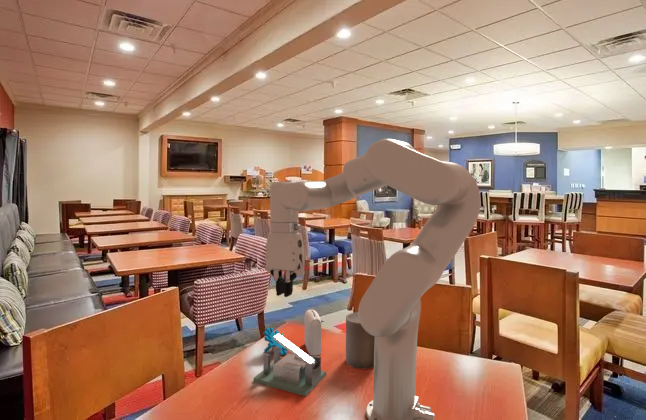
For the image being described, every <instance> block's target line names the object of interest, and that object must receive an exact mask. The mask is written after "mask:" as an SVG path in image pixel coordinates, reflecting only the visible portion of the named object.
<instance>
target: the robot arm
mask: <svg viewBox="0 0 646 420" xmlns="http://www.w3.org/2000/svg"><path fill="white" fill-rule="evenodd" d="M385 187H390V188H392V189H394V190H396V191H398V192H400V193H402V194H404V195H406V196H408V197H410V198H412V199H414V200H416V201H419V202H420V203H423V204H426V205H429V206H436V208H435V210H434V212H433V213H432V214H431V215H430V216H429V218H428V219H427V220H426V222H425V223H424V224H423V227H422V228H421V230H420V231H419V233H418V234H417V236H416V237H415V239H414V240H413V241H412V242H411V244H409V245H408V246H407V247H404V248H402V249H400V250H398V251H396V252H394V253H392V254H391V256H389V257H388V258H387V260H386V261H385V262H384V263H383V264H382V266H381V268H380V269H379V271H378V272H377V274H376V275H375V277H374V278H373V280H372V282H371V283H370V285H368V288H367V289H366V291H365V293H364V294H363V296H362V297H361V299H360V301H359V305H358V311H357V312H358V317H359V321H360V324H361V326H362V327H363V329H364V330H365V331H366V332H367V333H369V334H370V335H372V336H375V341H374V367H373V388H372V389H373V391H372V395H373V396H372V400H371V401H369V402H368V404H367V405H366V409H365V413H366V418H367V420H435V413H434V412H432V410H431V409H432V407H431V406H428V405H422V404H421V403H419V396H417V395H416V382H417V381H416V380H417V353H418V352H417V350H418V332H419V324H420V320H421V312H422V310H421V309H422V303H421V298H422V296H423V295H424V294H425V293H426V292H427V291H429V290H430V289H431V288H432V287H433V286H435V285H436V284H437V282H439V280H440V279H441V277H442V275H443V273H444V272H445V270H447V268H448V266H449V265H450V263H451V261H452V260H453V259H454V257H455V256H456V254H457V253H458V251H459V250H460V248H461V247H462V245H463V244H464V242H465V241H466V239H467V238H468V237H469V235H470V234H471V231H472V230H473V228H474V226H475V224H476V222H477V220H478V218H479V215H480V210H481V202H482V201H481V192H480V189H479V186H478V183H477V181H476V180H475V178H474V176H473V175H472V174H471V172H470V171H469V170H467V168H465V166H463V165H461V164H458V163H456V162H451V161H443V160H438V159H437V158H434V157H431V156H429V155H426V154H424V153H421V152H419V151H416V149H415V147H414V146H412V145H411V144H410V143H408V142H405V141H402V140H397V139H393V138H383V139H379V140H377V141H375V142H374V143H372V144H371V145H370V146H369V147H368V148H367V150H366V152H365V154H363V155H362V154H361V155H360V156H358V157H355V158H353V159H351V160H348V161H346V162H345V163H344V165H343V168H342V172H341V173H338V174H336V175H334V176H332V177H329V178H326V179H324V180H320V181H319V180H318V181H317V180H315V181H313V180H311V181H309V180H307V181H306V180H305V181H304V180H303V181H301V180H299V181H275V182H272V183H271V185H270V187H269V189H270V190H269V197H270V198H269V200H270V201H269V203H270V204H269V209H270V210H269V216H270V217H269V221H270V223H269V227H270V228H269V229H270V230H269V231H270V232H268V234H267V239H266V245H265V265H264V271H266V272H268V273H269V274H270V275H271V276H272V277H273V281H274V282H275V293H276V296H278V297H279V296H281V295H283V297H284V298H287V297H289V296H292V294H293V291H294V288H293V287H294V286H293V285H294V282H293V281H295V279H296V278H298V277H299V276H303V275H305V274H306V272H305V264H306V263H305V262H306V261H305V259H306V258H305V248H304V240H303V236H302V233H301V232H299V231H302V229H303V225H302V224H300V222H299V212H309V211H314V210H315V211H316V210H325V209H329V208H331V207H334V206H337V205H340V204H343V203H346V202H349V201H351V200H353V199H356V198H358V197H360V196H362V195H365V194H367V193H368V194H369V193H370V192H373V191H376V190H379V189H381V188H385ZM284 271H285V279H284Z"/></svg>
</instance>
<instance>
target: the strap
mask: <svg viewBox="0 0 646 420" xmlns="http://www.w3.org/2000/svg"><path fill="white" fill-rule="evenodd" d="M273 339H274V340H275V341H276V342H278V343H279V344H280V345H282V346H283V347H284V348H286V349H287V352H289V353H290V354H293V355H295V356H296V357H297V358H299V359H300V360H301V361H303V362H304V363H306V362H307V363H312V364H313V367H314V366H315V365H316V364H318V361H317V360H314V359H312V358H311V357H310V356H311V355H309V354H307V353H306V352H304V351H303V350H302V349H300V347H298V346H297V345H295V344H294V343H293V342H291V341H290V340H288V339H287V338H286V337H284V336H281V334H280V332H279V333H278V334H277V335H275V336H274V337H273ZM308 355H309V356H308Z"/></svg>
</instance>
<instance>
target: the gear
mask: <svg viewBox="0 0 646 420" xmlns="http://www.w3.org/2000/svg"><path fill="white" fill-rule="evenodd" d="M264 330H265V331H264V332H263V335H264V336H265V337H264V338H263V339H264V341H265V342H267V347H265V348H264V352H265V353H268V352H269V350H271V349H272V348H273V349H272V351H273V352H274V347H275V346H277V347H280V357H282V356H283V355H284V356H286V355H287V354H288V350H287V349H286V348H284V347H283V346H282V345H280V344H279V343H278V342H276V341H275V340H274V339H273V337H274V336H275V335H277V334H278V333H279V334H280V331H279V330H278V329H276V330H275V329H274V328H273V327H270V328H269V327H266V328H265V329H264ZM280 335H281V336H283V337H284V336H285V334H284V333H281V334H280Z"/></svg>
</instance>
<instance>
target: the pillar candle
mask: <svg viewBox="0 0 646 420" xmlns="http://www.w3.org/2000/svg"><path fill="white" fill-rule="evenodd" d="M374 341H375V336H372V335H370V334H369V333H367V332H366V331H365V330H364V329H363V327H362V326H361V324H360V321H359V317H358V311H356V312H351V313H348V314H347V315H346V316H345V362H346V364H347V365H348V366H350V367H351V368H354V369H358V370H359V369H360V370H361V369H362V370H364V369H372V368H373V369H374Z"/></svg>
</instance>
